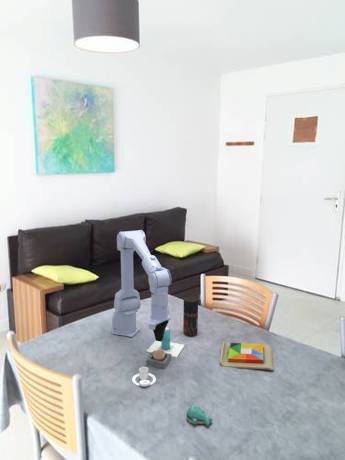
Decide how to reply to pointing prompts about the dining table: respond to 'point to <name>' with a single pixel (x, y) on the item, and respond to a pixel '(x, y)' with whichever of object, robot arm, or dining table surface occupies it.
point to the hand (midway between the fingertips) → (159, 340)
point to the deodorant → (190, 317)
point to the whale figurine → (197, 416)
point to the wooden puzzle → (246, 356)
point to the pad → (173, 350)
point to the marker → (166, 339)
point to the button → (159, 355)
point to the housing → (156, 363)
